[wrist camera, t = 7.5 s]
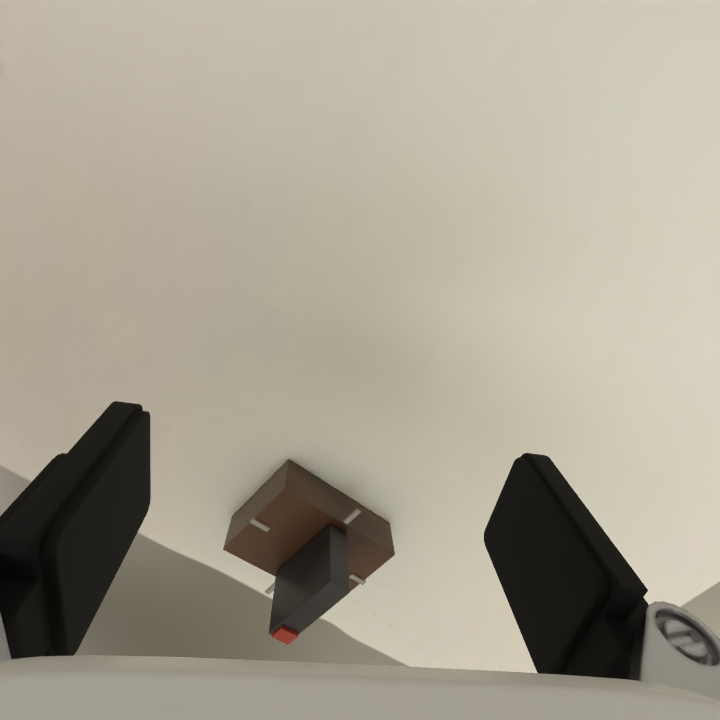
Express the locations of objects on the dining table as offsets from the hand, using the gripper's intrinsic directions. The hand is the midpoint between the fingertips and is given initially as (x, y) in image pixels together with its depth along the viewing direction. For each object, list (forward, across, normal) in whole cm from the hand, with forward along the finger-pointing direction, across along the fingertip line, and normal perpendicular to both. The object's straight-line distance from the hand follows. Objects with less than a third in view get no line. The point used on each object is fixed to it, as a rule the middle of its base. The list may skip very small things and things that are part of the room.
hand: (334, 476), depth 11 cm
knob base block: (+16, -2, +18) cm, 24 cm away
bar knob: (+13, -2, +18) cm, 22 cm away
